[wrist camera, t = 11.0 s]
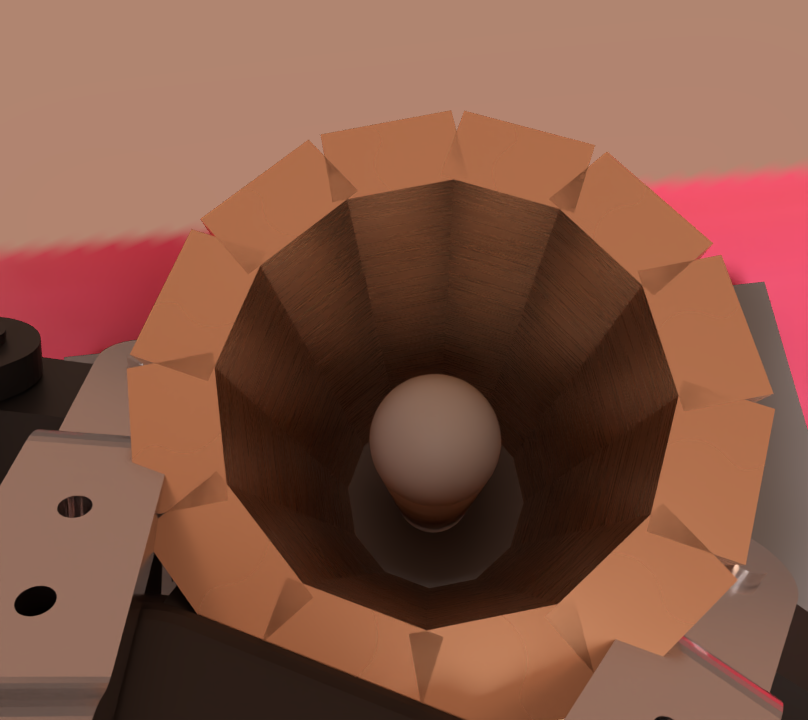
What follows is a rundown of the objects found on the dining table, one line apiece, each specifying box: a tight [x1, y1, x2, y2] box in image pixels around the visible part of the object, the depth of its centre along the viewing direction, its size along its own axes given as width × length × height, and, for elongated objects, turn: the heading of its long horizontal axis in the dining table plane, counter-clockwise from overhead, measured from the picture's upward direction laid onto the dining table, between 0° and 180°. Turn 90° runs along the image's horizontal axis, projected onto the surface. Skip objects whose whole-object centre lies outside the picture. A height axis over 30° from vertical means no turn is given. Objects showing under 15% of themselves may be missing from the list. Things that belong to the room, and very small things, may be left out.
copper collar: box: [127, 111, 775, 720], centre depth 11 cm, size 6×6×10 cm
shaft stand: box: [64, 282, 808, 611], centre depth 13 cm, size 20×10×11 cm, turn 96°
